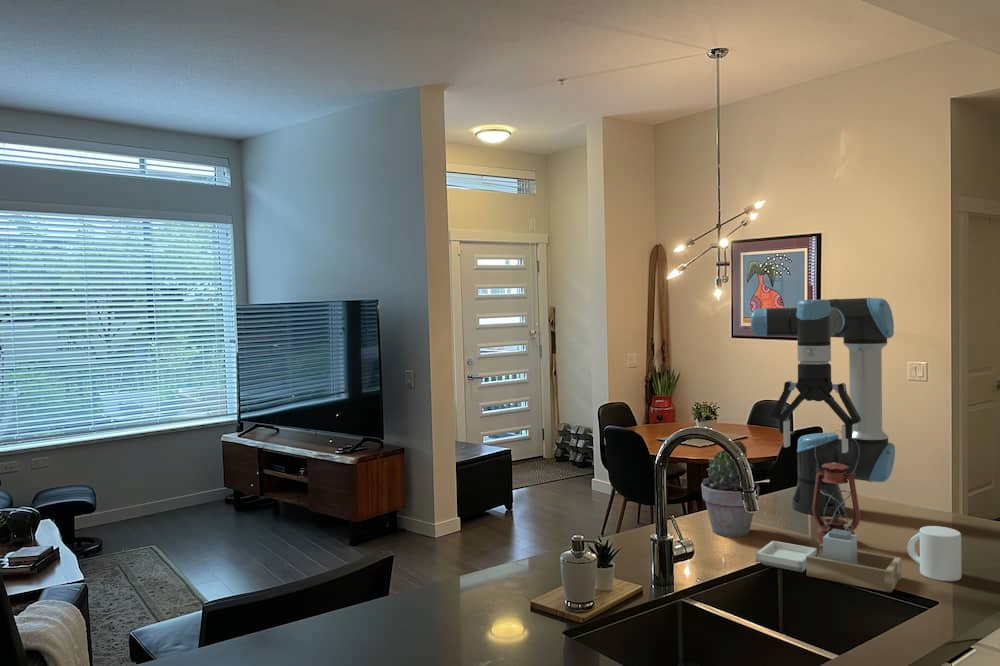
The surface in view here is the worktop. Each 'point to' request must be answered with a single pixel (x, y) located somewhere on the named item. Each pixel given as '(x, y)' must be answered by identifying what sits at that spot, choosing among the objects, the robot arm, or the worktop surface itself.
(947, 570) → the mug
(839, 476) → the lantern
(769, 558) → the tray
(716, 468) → the potted plant
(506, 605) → the worktop surface
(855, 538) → the tall pale grey block
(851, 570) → the bay
